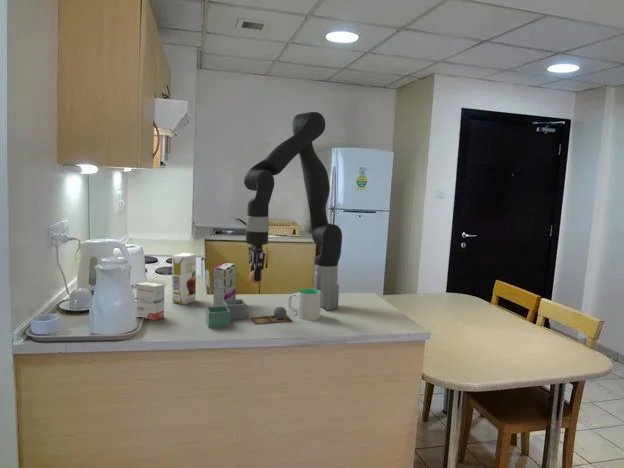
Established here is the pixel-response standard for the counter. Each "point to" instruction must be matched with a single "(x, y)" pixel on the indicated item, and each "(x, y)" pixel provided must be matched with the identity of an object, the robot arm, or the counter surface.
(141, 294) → the ink box
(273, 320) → the rack
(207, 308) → the green open box
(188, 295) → the juice carton
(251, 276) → the ball clay
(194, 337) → the counter surface
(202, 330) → the counter surface
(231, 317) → the grey open box
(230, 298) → the candy bar box
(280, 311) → the ball grey
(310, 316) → the mug
